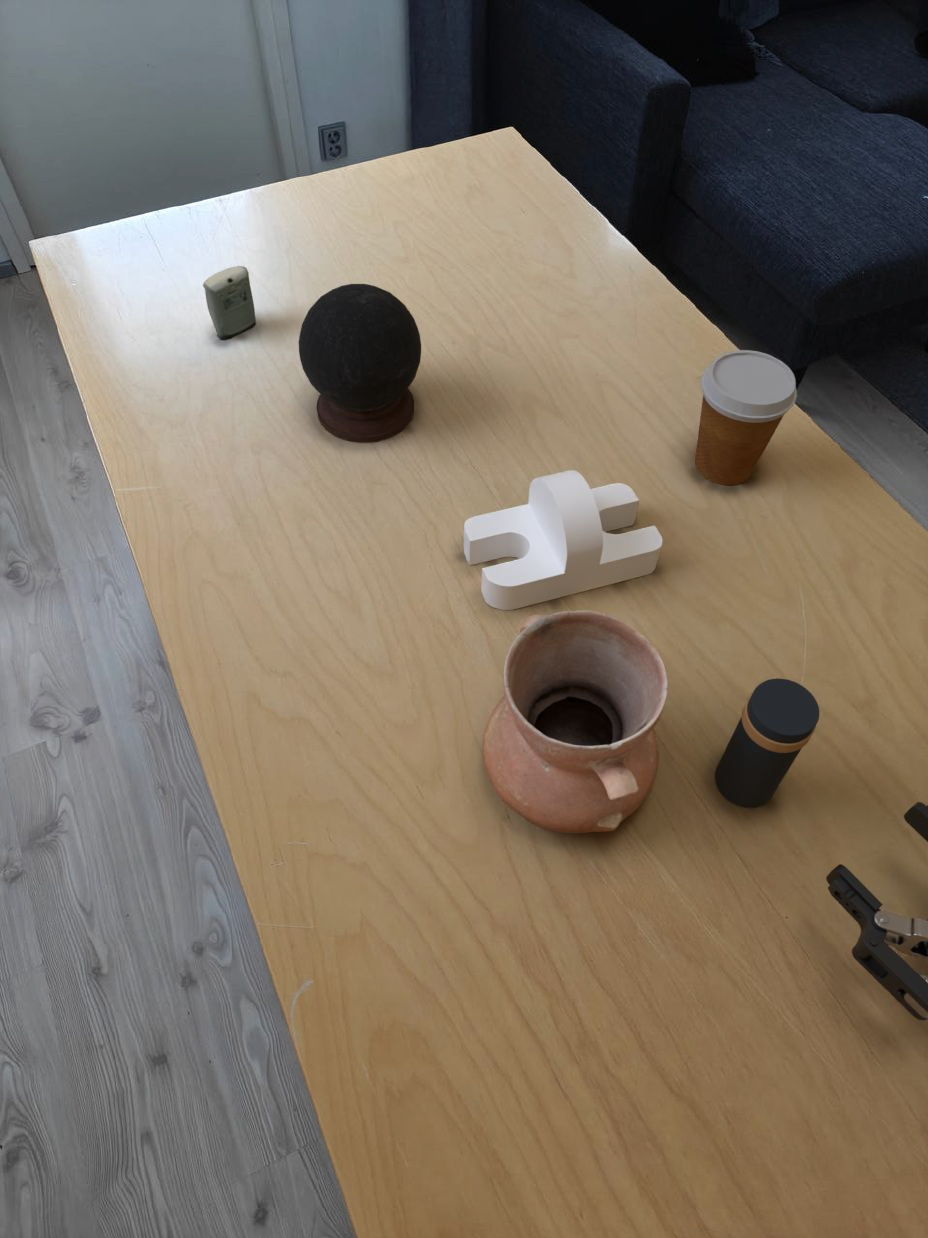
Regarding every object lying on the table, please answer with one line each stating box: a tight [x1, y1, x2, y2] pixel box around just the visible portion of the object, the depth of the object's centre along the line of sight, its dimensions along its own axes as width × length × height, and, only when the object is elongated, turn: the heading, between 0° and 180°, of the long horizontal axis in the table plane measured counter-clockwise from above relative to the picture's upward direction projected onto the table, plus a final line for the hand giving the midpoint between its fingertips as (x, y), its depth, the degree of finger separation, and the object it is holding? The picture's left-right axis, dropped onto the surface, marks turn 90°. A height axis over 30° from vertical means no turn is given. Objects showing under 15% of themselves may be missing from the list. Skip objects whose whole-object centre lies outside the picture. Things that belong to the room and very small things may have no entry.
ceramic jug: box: [482, 609, 669, 834], centre depth 74 cm, size 18×14×14 cm
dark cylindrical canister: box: [714, 678, 820, 809], centre depth 74 cm, size 5×5×12 cm
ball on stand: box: [298, 283, 422, 443], centre depth 101 cm, size 13×13×15 cm
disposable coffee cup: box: [694, 349, 798, 486], centre depth 97 cm, size 10×10×12 cm
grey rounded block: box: [202, 265, 257, 341], centre depth 112 cm, size 6×5×8 cm
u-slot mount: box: [463, 469, 663, 611], centre depth 89 cm, size 18×10×10 cm, turn 109°
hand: (872, 839), depth 67 cm, fingers open, 8 cm apart
